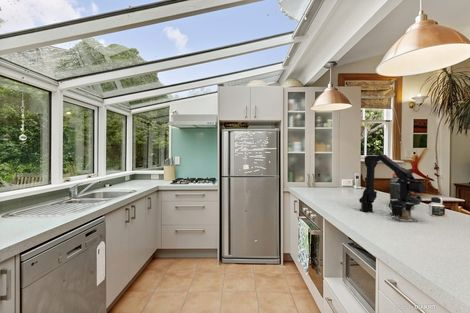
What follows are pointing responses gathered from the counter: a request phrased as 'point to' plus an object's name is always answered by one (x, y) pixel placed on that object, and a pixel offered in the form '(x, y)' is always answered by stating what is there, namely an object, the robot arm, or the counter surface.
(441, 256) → the counter surface
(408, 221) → the pad
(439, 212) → the medicine bottle
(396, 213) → the coffee mug
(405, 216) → the letter block
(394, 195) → the supplement tub
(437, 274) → the counter surface
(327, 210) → the counter surface
